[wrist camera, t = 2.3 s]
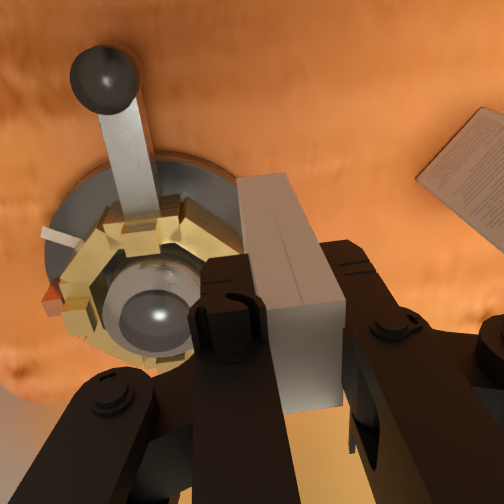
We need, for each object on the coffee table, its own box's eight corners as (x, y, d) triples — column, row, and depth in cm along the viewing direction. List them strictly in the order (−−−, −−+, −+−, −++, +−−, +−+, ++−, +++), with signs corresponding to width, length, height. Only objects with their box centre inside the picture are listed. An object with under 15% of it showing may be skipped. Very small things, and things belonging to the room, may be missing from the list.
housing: (20, 165, 26) (-40, 220, 20) (264, 138, 27) (283, 183, 21) (88, 348, 34) (61, 430, 28) (277, 323, 35) (294, 399, 28)
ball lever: (0, 51, 21) (-42, 62, 18) (219, 29, 22) (222, 35, 18) (102, 344, 31) (89, 390, 28) (252, 325, 32) (258, 368, 28)
